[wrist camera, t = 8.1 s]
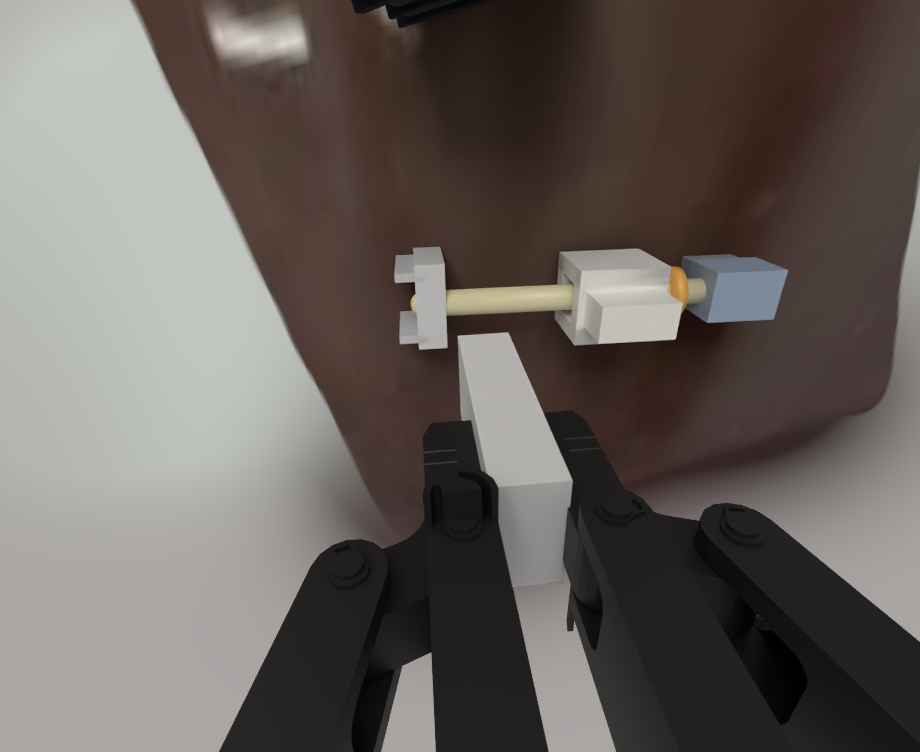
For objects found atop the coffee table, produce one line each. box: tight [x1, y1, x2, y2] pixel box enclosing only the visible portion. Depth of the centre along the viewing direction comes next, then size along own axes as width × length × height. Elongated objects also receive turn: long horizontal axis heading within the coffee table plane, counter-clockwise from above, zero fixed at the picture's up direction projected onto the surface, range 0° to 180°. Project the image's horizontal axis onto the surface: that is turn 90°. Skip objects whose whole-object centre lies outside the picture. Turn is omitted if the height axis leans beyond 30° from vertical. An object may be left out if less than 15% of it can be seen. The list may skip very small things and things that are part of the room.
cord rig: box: [394, 247, 788, 350], centre depth 36 cm, size 6×27×6 cm, turn 91°
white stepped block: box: [555, 249, 683, 345], centre depth 34 cm, size 5×6×8 cm
